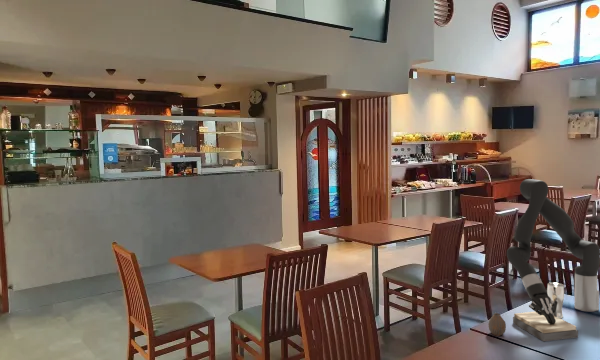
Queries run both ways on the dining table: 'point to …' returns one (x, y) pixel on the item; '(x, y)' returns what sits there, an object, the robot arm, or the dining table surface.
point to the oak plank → (552, 326)
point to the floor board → (523, 323)
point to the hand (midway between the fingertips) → (553, 323)
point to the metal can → (556, 297)
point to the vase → (497, 325)
